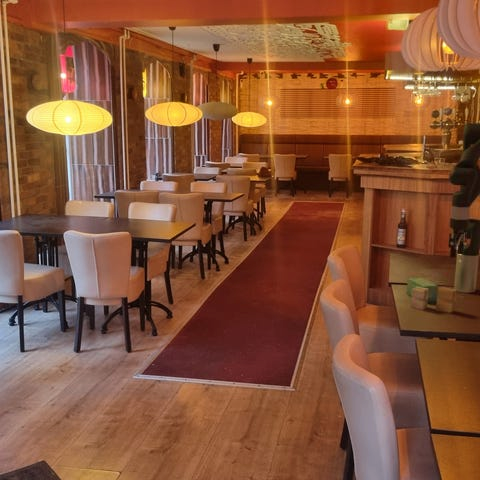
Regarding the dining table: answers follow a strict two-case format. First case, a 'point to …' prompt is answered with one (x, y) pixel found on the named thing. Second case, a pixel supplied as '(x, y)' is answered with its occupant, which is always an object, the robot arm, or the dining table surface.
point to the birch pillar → (419, 298)
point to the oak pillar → (446, 300)
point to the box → (424, 284)
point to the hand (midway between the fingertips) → (456, 255)
